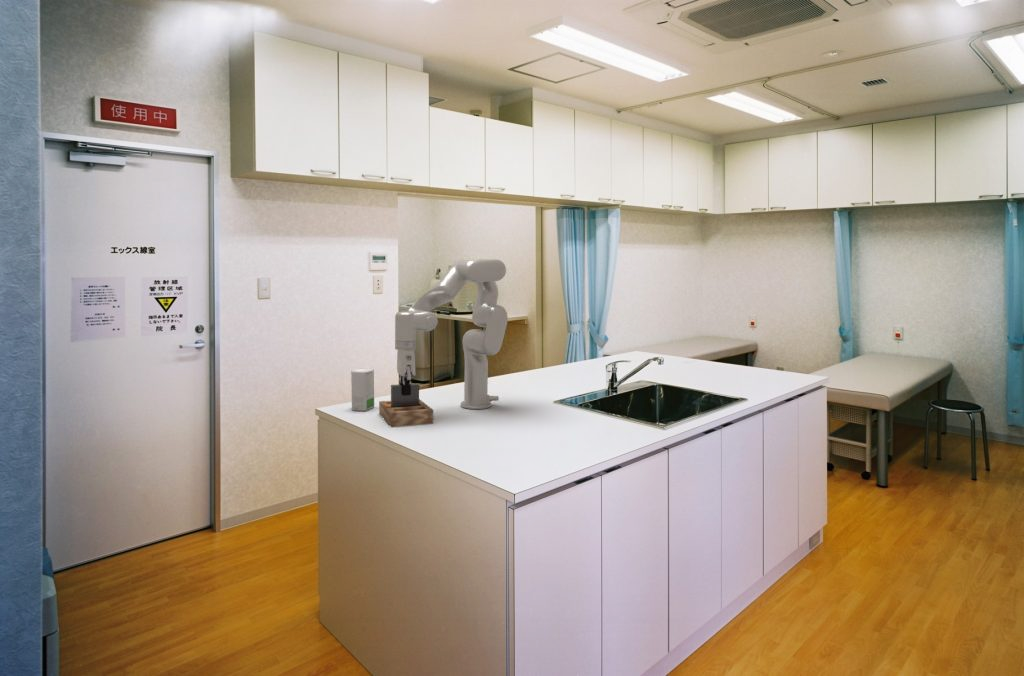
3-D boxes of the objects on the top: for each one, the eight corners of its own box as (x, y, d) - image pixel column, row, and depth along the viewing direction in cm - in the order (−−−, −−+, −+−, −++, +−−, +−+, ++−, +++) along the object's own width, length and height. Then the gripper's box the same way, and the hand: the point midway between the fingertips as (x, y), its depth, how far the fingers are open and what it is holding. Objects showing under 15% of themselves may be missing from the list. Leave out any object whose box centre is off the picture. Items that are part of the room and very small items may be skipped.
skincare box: (366, 411, 238) (365, 372, 236) (350, 410, 239) (349, 371, 237) (375, 407, 246) (374, 368, 244) (359, 406, 247) (359, 368, 246)
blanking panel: (417, 407, 231) (417, 383, 230) (418, 408, 229) (419, 384, 228) (390, 408, 227) (390, 384, 226) (392, 410, 225) (392, 386, 224)
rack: (418, 411, 240) (418, 397, 240) (433, 423, 222) (433, 408, 222) (379, 414, 234) (379, 399, 234) (390, 426, 216) (390, 411, 215)
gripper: (421, 347, 219) (420, 398, 221) (410, 342, 234) (409, 389, 236) (400, 348, 216) (400, 399, 218) (390, 342, 231) (390, 390, 233)
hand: (405, 393), depth 227 cm, fingers closed on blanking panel, 2 cm apart
